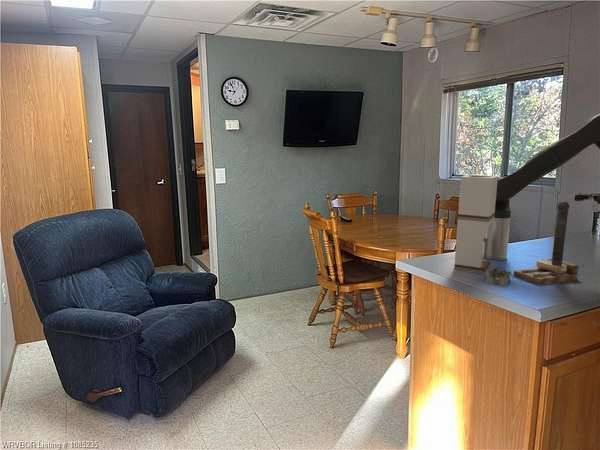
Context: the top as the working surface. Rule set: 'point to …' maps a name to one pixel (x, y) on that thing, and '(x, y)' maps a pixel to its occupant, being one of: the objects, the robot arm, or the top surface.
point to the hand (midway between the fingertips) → (586, 199)
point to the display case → (474, 221)
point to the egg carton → (497, 276)
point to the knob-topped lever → (558, 241)
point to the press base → (548, 274)
